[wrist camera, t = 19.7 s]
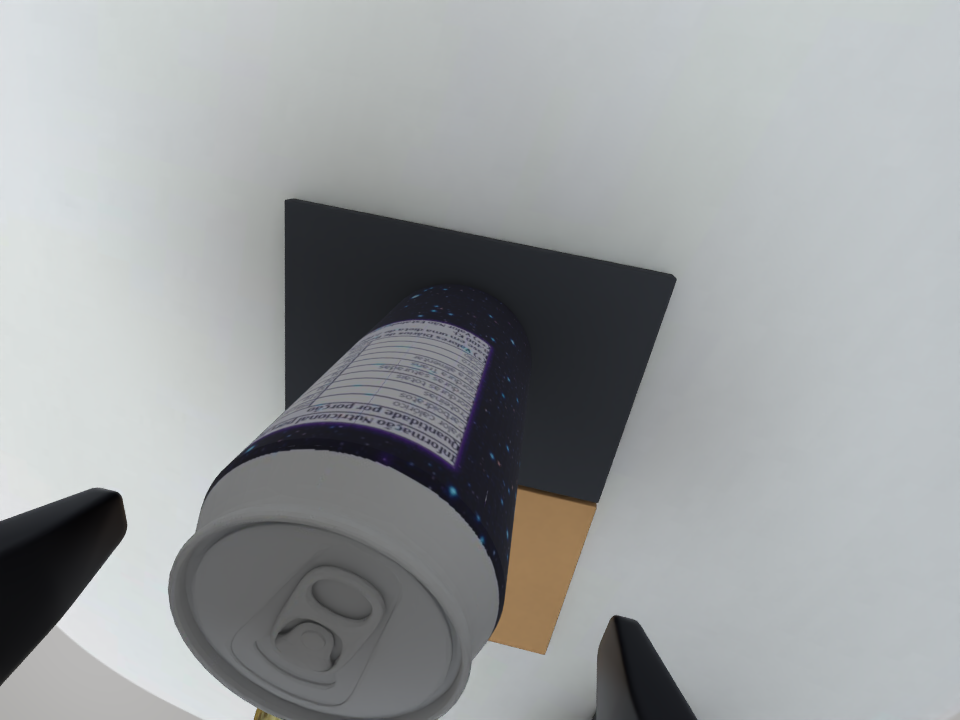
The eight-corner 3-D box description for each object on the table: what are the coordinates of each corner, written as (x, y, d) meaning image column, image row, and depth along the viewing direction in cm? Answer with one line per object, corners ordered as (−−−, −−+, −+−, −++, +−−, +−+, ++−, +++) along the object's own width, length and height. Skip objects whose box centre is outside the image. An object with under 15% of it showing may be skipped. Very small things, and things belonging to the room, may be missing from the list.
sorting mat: (545, 644, 25) (545, 655, 24) (291, 579, 26) (285, 589, 25) (674, 274, 17) (677, 278, 16) (292, 197, 17) (283, 199, 17)
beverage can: (363, 366, 19) (109, 648, 8) (430, 246, 17) (199, 418, 6) (482, 438, 20) (391, 792, 9) (563, 332, 17) (574, 633, 6)
